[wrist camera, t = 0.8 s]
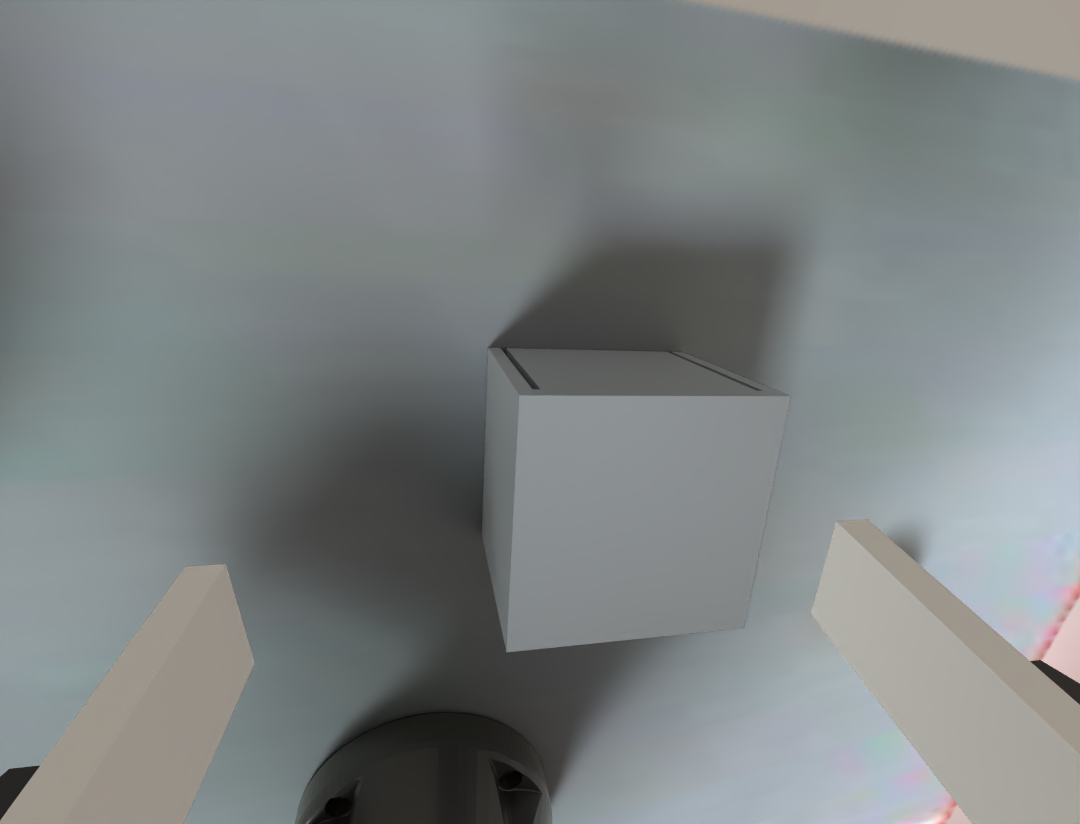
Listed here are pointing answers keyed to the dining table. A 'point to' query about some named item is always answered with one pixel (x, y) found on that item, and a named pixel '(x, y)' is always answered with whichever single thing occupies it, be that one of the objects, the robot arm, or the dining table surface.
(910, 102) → the dining table surface
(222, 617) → the robot arm
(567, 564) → the grey rectangular prism
